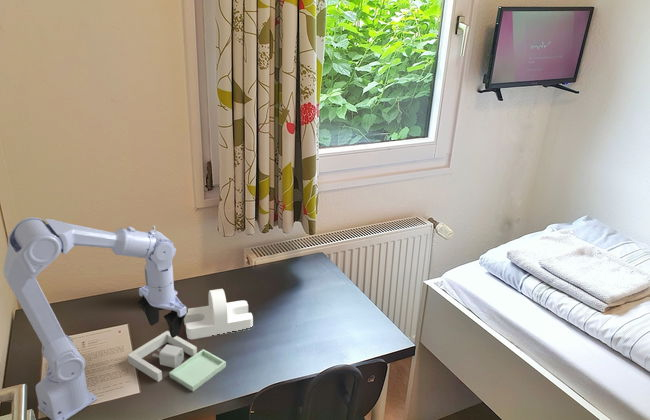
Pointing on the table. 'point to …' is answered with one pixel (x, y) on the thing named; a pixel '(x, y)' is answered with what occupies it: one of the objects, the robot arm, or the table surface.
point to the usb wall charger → (170, 356)
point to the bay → (152, 345)
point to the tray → (197, 370)
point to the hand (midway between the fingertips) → (164, 329)
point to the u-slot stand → (217, 317)
